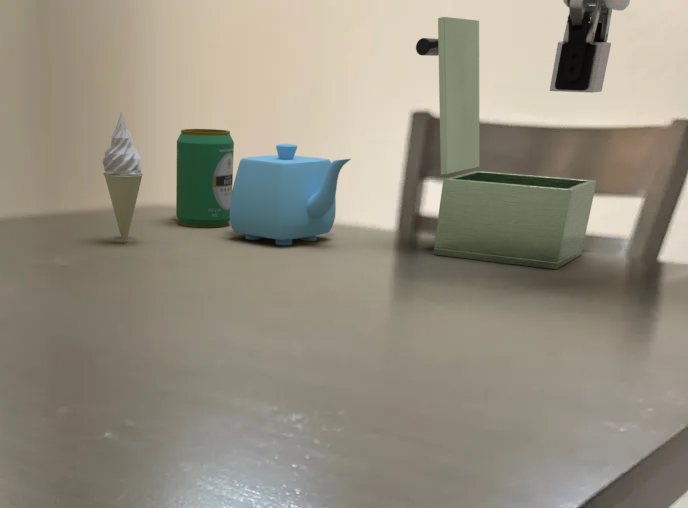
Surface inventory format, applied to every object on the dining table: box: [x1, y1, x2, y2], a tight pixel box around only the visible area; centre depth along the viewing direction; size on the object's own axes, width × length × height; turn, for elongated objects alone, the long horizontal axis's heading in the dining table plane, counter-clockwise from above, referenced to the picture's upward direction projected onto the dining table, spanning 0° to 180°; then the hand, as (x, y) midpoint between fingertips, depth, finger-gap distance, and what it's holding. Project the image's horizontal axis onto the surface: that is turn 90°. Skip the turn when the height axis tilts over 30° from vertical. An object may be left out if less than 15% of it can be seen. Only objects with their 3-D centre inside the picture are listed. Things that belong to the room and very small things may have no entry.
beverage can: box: [175, 128, 235, 229], centre depth 138 cm, size 8×8×12 cm
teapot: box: [229, 143, 352, 246], centre depth 128 cm, size 12×18×12 cm
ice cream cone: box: [102, 111, 144, 244], centre depth 122 cm, size 5×5×15 cm
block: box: [549, 40, 612, 94], centre depth 101 cm, size 4×4×4 cm
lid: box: [415, 16, 480, 176], centre depth 121 cm, size 16×13×5 cm
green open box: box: [432, 170, 597, 270], centre depth 123 cm, size 16×13×9 cm
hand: (576, 87), depth 102 cm, fingers closed on block, 4 cm apart
